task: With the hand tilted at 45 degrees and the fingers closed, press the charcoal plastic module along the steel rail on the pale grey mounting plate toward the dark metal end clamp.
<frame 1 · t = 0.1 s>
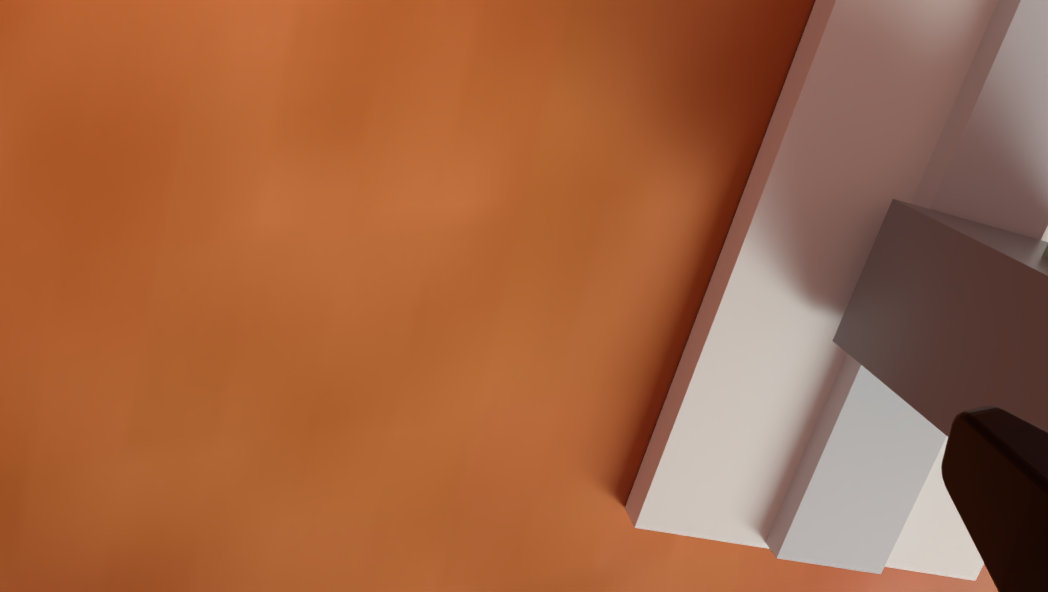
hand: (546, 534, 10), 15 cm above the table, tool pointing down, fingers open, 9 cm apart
rail plate: (931, 239, 28), on the table
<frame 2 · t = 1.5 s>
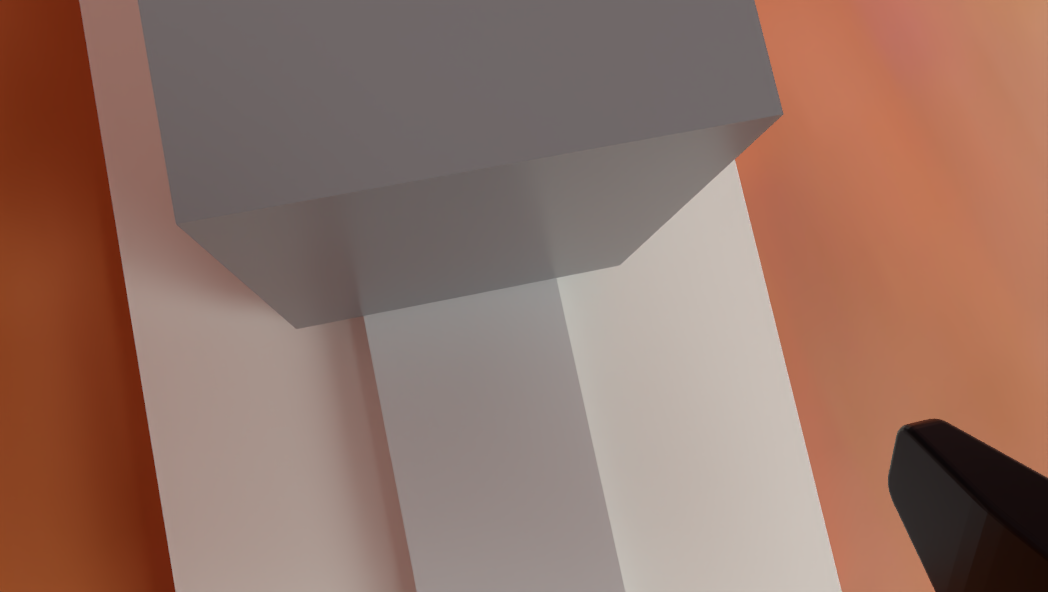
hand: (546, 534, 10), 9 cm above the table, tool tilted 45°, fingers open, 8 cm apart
module: (439, 95, 14), point 6 cm above the table, slide at 0.0 cm
rail plate: (428, 168, 20), on the table
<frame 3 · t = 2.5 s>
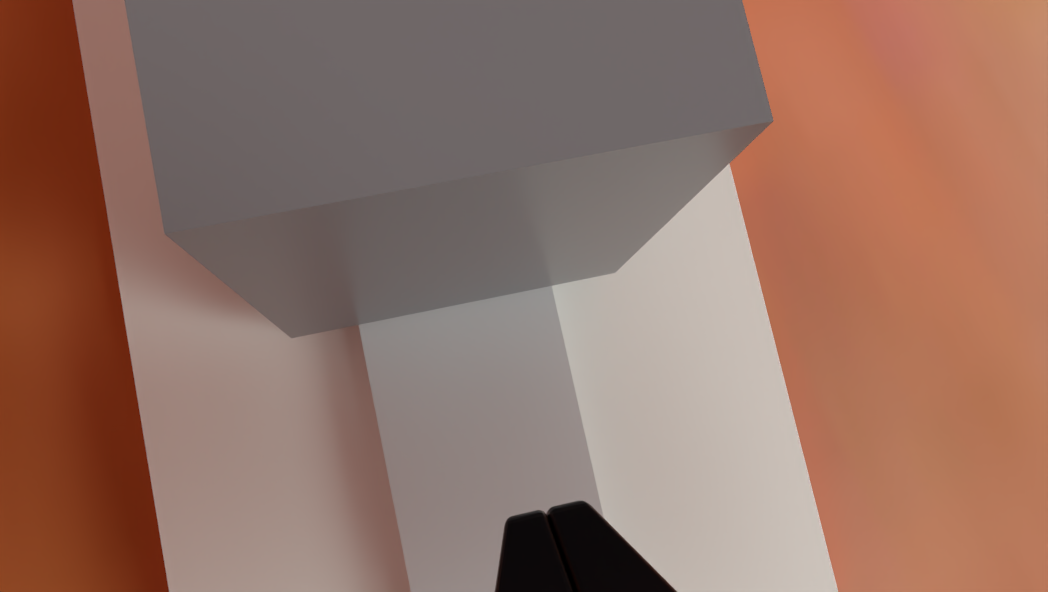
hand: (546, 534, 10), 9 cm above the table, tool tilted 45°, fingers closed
module: (431, 104, 14), point 6 cm above the table, slide at 0.0 cm
rail plate: (424, 176, 20), on the table
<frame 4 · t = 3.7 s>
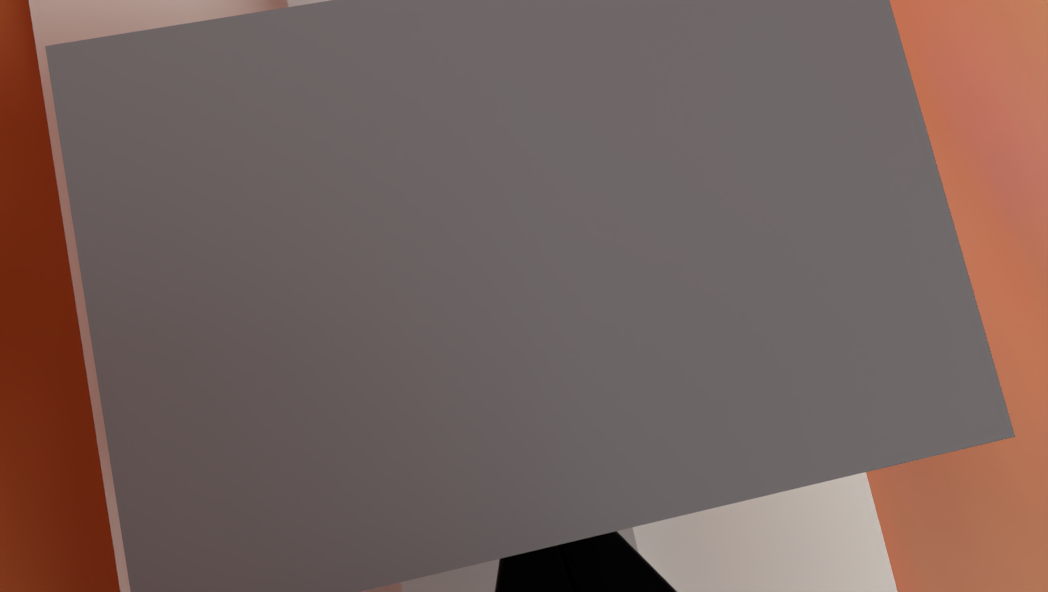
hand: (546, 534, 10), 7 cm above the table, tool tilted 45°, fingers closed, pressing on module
module: (490, 300, 11), point 6 cm above the table, slide at 0.4 cm, touching gripper
rail plate: (465, 339, 17), on the table
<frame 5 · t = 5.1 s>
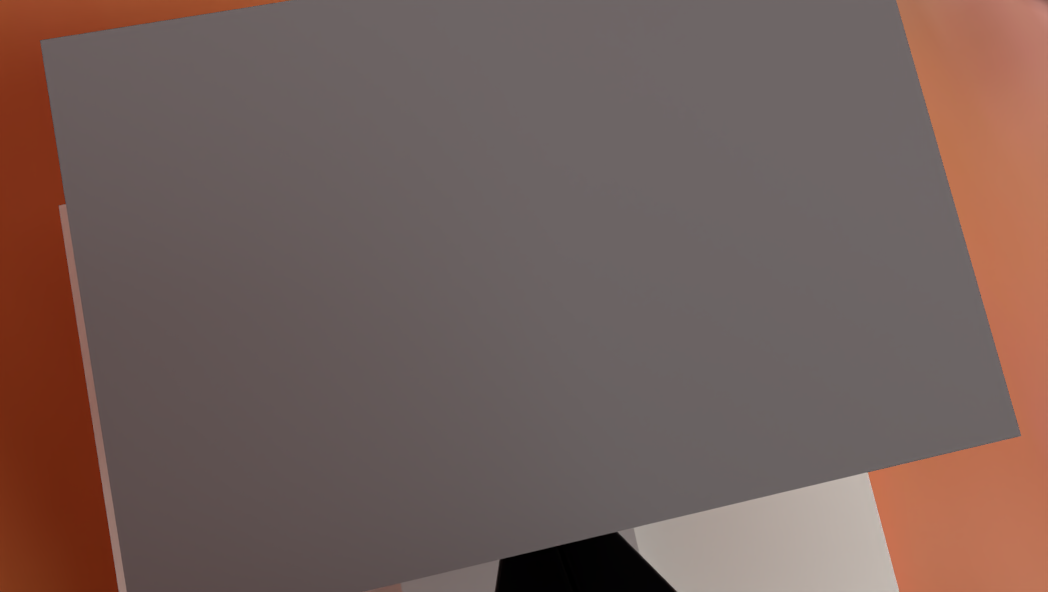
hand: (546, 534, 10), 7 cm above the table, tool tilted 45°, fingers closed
module: (490, 297, 11), point 6 cm above the table, slide at 7.1 cm
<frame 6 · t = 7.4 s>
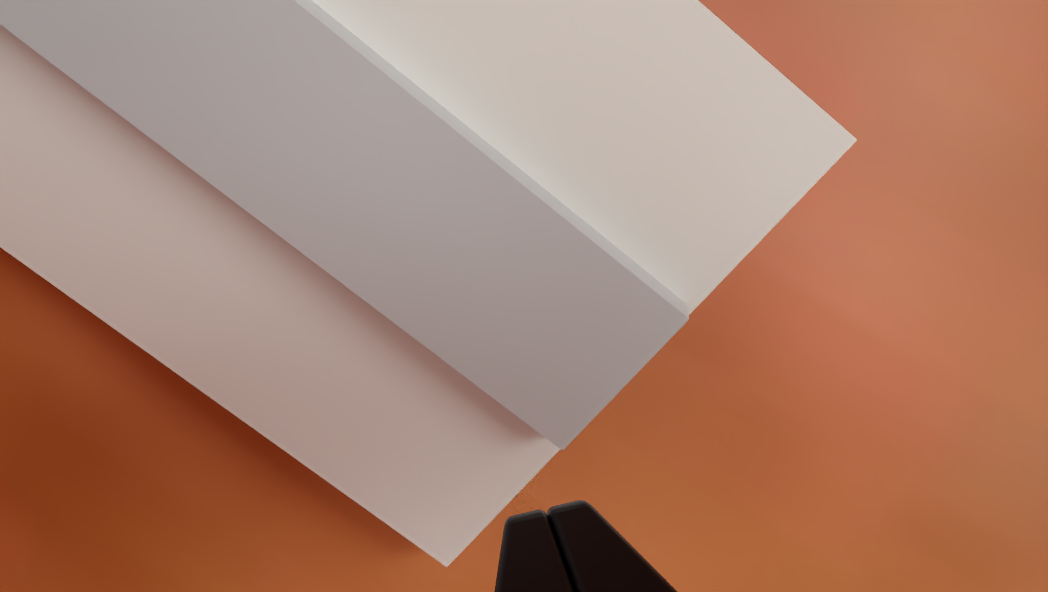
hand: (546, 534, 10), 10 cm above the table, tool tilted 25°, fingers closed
rail plate: (226, 35, 18), on the table
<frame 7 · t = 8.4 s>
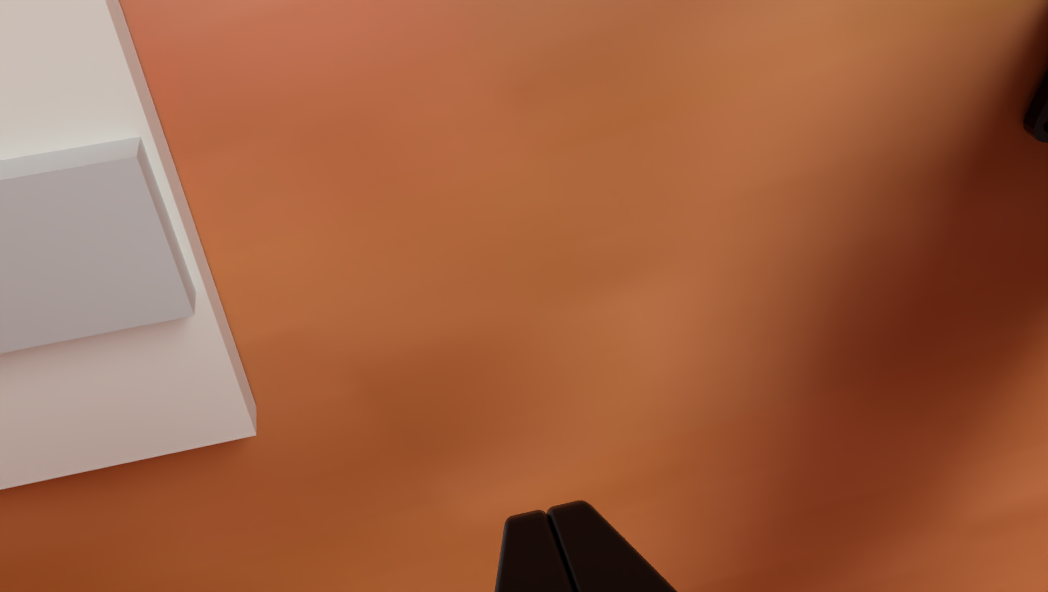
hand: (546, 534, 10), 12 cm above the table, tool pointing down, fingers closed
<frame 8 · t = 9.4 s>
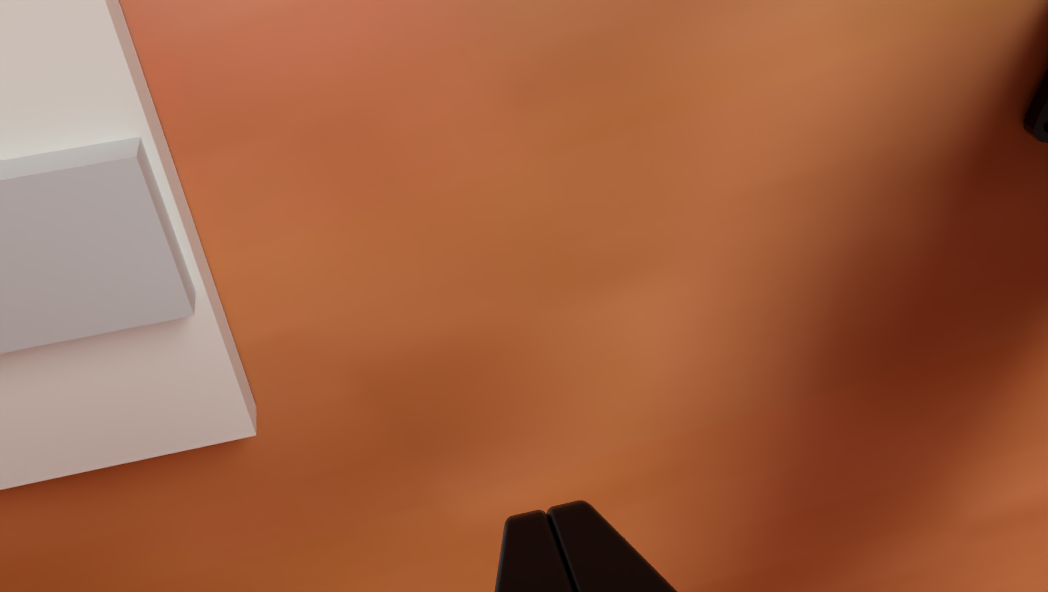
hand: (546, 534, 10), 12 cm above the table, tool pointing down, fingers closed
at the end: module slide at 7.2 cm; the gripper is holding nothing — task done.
